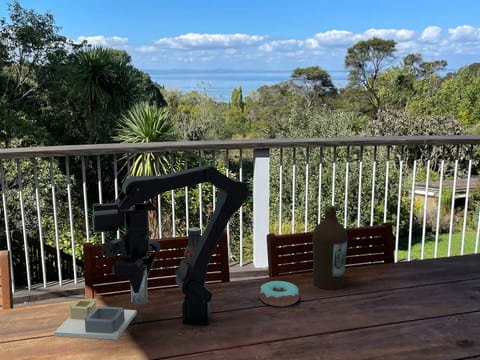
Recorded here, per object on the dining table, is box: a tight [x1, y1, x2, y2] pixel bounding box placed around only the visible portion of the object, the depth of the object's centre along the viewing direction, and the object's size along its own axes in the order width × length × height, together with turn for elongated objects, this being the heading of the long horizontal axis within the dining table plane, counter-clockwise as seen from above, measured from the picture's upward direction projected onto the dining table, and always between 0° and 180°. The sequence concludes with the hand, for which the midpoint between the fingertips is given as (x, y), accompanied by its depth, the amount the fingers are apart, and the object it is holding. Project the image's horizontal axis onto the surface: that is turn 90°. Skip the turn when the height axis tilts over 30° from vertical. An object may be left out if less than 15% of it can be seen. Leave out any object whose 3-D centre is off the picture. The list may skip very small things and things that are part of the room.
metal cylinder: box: [130, 264, 149, 305], centre depth 116 cm, size 4×4×9 cm
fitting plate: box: [53, 298, 137, 341], centre depth 121 cm, size 16×14×4 cm
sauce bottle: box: [183, 227, 202, 261], centre depth 138 cm, size 7×6×20 cm
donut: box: [258, 280, 301, 307], centre depth 136 cm, size 12×12×4 cm
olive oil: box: [311, 204, 348, 291], centre depth 145 cm, size 11×11×25 cm
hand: (139, 289), depth 117 cm, fingers closed on metal cylinder, 4 cm apart
